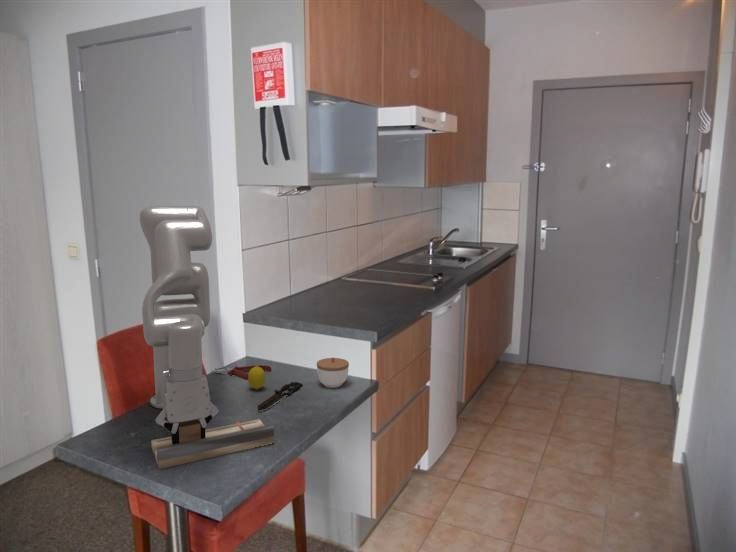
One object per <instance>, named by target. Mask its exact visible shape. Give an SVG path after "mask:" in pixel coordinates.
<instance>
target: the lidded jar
mask: <svg viewBox="0 0 736 552" xmlns="http://www.w3.org/2000/svg"><path fill="white" fill-rule="evenodd" d="M349 365H350V363H349V361H348V360H347V359H345V358H344V359H343V358H339V357H327V358H322V359H319V360H318V361H316V372H317V378H318V379H319V382H320V383H321V384H322V385H323V386H324V387H325V388H327V389H329V388H330V389H335V388H339V387H342V385H343V384H344V383H345V382H346V380H347V378H348V375H349Z"/></svg>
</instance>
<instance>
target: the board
mask: <svg viewBox="0 0 736 552" xmlns="http://www.w3.org/2000/svg"><path fill="white" fill-rule="evenodd" d="M205 436H206V438H203V439H198V440H193V441H188V442H183V443H178V444H173V445H172V437H171V435H170V436H167V437H161V438H156V439H151V442H150V444H151V450H152V453H153V456H154V459H155V461H156V464H157V467H158V469H159V470H161V469H167V468H170V467H175V466H179V465H184V464H188V463H193V462H197V461H201V460H202V461H203V460H207V459H211V458H215V457H219V456H220V457H221V456H225V455H229V454H233V453H238V452H242V451H243V452H244V451H248V450H252V449H256V448H255V447H257V448H260V447H259V446H261V447H265V446H264V445H266V446H268V444H270V445H273V444H272V443H274V444H275V426H273V425H272V424H268V425H265V424H264V423H263V422H262V421H261V419H260V418H258V419H257V418H256V419H253V420H248V421H243V422H239V421H235V423H231V424H227V425H223V426H217V427H211V428H205ZM247 449H248V450H247Z"/></svg>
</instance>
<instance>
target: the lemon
mask: <svg viewBox="0 0 736 552" xmlns="http://www.w3.org/2000/svg"><path fill="white" fill-rule="evenodd" d="M254 366H255V367H254V368H252V369H251V370H250V371H249V372H248V373H249V374H248V380H247V381H248V384H249V386H250V387H251V388H253V389H255V390H256V391H257V390H259V389H260V388H262V387H263V386H264V385H265V383H266V373H265V371H264V370H263V369H262V368H260V367H258V366H257V365H254Z"/></svg>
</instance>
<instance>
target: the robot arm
mask: <svg viewBox="0 0 736 552" xmlns="http://www.w3.org/2000/svg"><path fill="white" fill-rule="evenodd" d="M139 224H140V227H141V230H142V233H143V236H144V238H145V239H146V241H147V244H148V247H149V250H150V265H151V266H150V267H151V282H152V285H151V286H150V288H148V290H147V292H146V293H145V295H144V299H143V300H142V301H143V302H142V308H141V311H142V312H141V313H142V314H141V316H142V330H143V336H144V340H145V342H146V344H147V345H148V346H149V347H152V349H153V350H152V351H153V370H154V390H155V395H153V396H152V397H151V398H150V400H149V401H150V406H152V407H154V408H155V409H162V410H161V412H160V413H159V414H158V415H157V416H156V418H155V423H156V424H157V425H160V426H162V427H164V428H165V430H167V431H169V432H170V433H171V435H170V436H171V437H172V445H173V444H178V443H179V433H178V430H177V428H178V424H179V423H180V422H186V421H191V420H197V419H198V420H199V422H200V427H201V439H203V438H206V436H205V430H206V428H207V425H208V424H209V423H210V421H212V419H213V418H214V417H215V416H216V415H217V414H219V411H220V410H219V409H218V407H217V406H216V405H215V404H213V402H212V401H211V397H210V396H211V395H210V389H209V383H208V378H207V376H206V375H205V374H204V372H203V349H202V347H203V346H202V344H203V343H202V338H203V337H204V335H205V328H207V327H208V326H209V324H210V320H211V300H210V280H209V279H210V277H209V273H208V269H207V267H206V265H204V264H203V263H201V262H192V258H191V252H197V251H198V252H201V251H208V250H210V248H211V247H212V242H213V233H212V228H211V224H210V222H209V219H208V217H207V214H206V212H205V210H204V209H203V208H202V207H200V206H197V205H152V206H146V207H144V208H143V209H141V211H140V213H139ZM184 295H192V296H193V297H190V298H189V297H188V298H174V299H173V298H172V299H161V300H158V299H159V298H160V297H161V296H184ZM165 418H166V420H165Z"/></svg>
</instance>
